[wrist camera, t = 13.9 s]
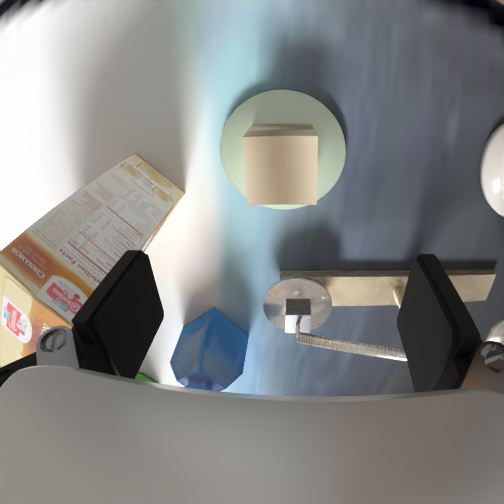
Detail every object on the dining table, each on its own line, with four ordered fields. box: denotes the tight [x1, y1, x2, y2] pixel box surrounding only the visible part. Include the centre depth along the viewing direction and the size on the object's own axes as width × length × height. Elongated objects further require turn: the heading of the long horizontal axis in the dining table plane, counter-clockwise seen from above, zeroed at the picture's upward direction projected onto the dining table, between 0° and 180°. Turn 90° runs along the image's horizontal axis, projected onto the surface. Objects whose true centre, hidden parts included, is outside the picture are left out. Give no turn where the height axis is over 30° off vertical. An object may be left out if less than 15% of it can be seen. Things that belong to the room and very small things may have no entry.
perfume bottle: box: [170, 307, 249, 391], centre depth 35 cm, size 6×6×12 cm
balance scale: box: [263, 269, 504, 361], centre depth 27 cm, size 30×7×15 cm, turn 94°
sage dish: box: [220, 89, 346, 209], centre depth 27 cm, size 11×11×1 cm
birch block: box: [243, 124, 318, 205], centre depth 24 cm, size 5×5×6 cm
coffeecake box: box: [0, 154, 185, 367], centre depth 25 cm, size 15×7×20 cm, turn 140°
